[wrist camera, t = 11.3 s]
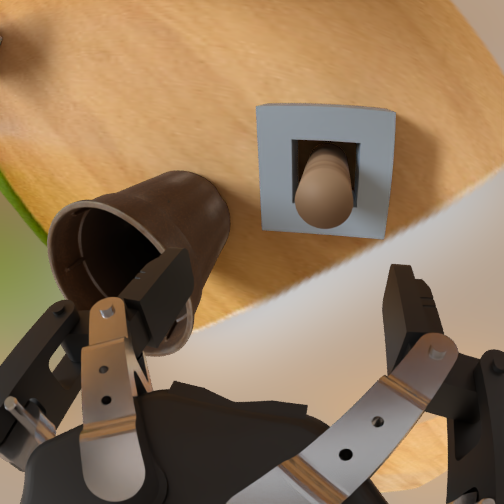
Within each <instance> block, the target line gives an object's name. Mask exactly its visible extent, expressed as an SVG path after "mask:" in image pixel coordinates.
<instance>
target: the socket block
mask: <svg viewBox="0 0 504 504" xmlns="http://www.w3.org/2000/svg"><path fill="white" fill-rule="evenodd" d="M256 119H257V138H258V158H259V178H260V199H261V221H262V230H268V231H283V232H297V233H311V234H324V235H337V236H349V237H361V238H373V239H384V236H385V229H386V222H387V215H388V207H389V199H390V190H391V181H392V170H393V158H394V143H395V122H396V112H393V111H391V110H388V109H385V108H375V107H364V106H352V105H336V104H310V103H268V104H263V105H259V106H256ZM298 140H322V141H340V142H354V143H356V166H355V184H354V190H352V195H353V209H352V212H351V214H350V216H349V217H348V219H347V220H346V221H345V222H344V223H342V224H341V225H339V226H337V227H334V228H331V229H320V228H316V227H313V226H311V225H309V224H307V223H306V222H305V221H304V220H303V219H302V218H301V217H300V216H299V214H298V212H297V210H296V206H295V195H296V191H297V189H298Z"/></svg>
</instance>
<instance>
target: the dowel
mask: <svg viewBox="0 0 504 504" xmlns="http://www.w3.org/2000/svg"><path fill="white" fill-rule="evenodd" d="M295 206H296V210H297V212H298V214H299V216H300V217H301V218H302V219H303V220H304V221H305V222H306V223H307V224H309V225H311V226H313V227H316V228H320V229H331V228H334V227H337V226H339V225H341V224H342V223H344V222H345V221H346V220H347V219H348V217H349V216H350V214H351V212H352V209H353V195H352V188H351V181H350V174H349V168H348V162H347V157H346V154H345V152H344V151H343V149H342V148H341V147H339V146H338V145H336V144H333V143H322V144H319V145H317V146H316V147H315V148H314V149H313V150H312V151H311V153H310V156H309V159H308V162H307V164H306V167H305V170H304V172H303V175H302V178H301V181H300V183H299V186H298V189H297V191H296V195H295Z"/></svg>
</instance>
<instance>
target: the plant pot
mask: <svg viewBox="0 0 504 504" xmlns="http://www.w3.org/2000/svg"><path fill="white" fill-rule="evenodd" d="M229 231H230V215H229V210H228V207H227V205H226V203H225V202H224V201H223V199H222V198H221V196H220V195H219V193H218V191H217V189H216V187H215V186H214V185H213V184H211V183H210V182H209V181H208V180H206V179H205V178H203V177H201V176H199V175H197V174H194V173H191V172H187V171H170V172H166V173H163V174H161V175H159V176H157V177H154V178H152V179H149V180H147V181H144V182H142V183H139V184H137V185H134V186H132V187H129V188H127V189H125V190H122V191H120V192H117V193H111V194H106V195H102V196H100V197H97V198H95V199H93V200H81V201H77V202H74V203H72V204H69V205H67V206H66V207H64V208H63V209H61V210H60V211H59V212H58V213H57V215H56V216H55V217H54V219H53V221H52V223H51V226H50V229H49V233H48V241H47V245H48V257H49V262H50V266H51V270H52V273H53V275H54V278H55V281H56V283H57V285H58V287H59V289H60V291H61V293H62V294H63V296H64V298H65V299H66V300H71V301H72V302H73V303H74V305H75V307H76V309H77V311H82V310H91V308H92V307H93V306H94V305H95V304H96V303H97V302H98V301H100V300H102V299H105V298H109V297H118V296H119V294H120V293H121V292H122V291H123V290H124V289H125V288H126V287H127V285H128V284H129V283H130V282H131V281H132V280H133V279H135V276H136V275H137V274H138V273H140V271H141V270H142V269H143V268H144V267H145V265H146V264H147V263H149V262H151V261H152V260H154V259H156V258H159V257H160V255H161V254H162V253H163V252H164V251H165V250H166V249H167V248H168V247H175V248H186V249H187V250H188V252H189V257H190V262H191V267H192V272H193V277H194V289H193V292H192V294H191V296H190V297H189V299H188V301H187V302H186V304H185V305H184V307H183V308H182V310H181V312H180V313H179V315H178V316H177V318H176V319H175V321H174V323H173V324H172V326H171V327H170V329H169V331H168V332H167V334H166V335H165V337H164V339H163V340H162V342H161V343H160V345H159V347H158V348H153V347H149V346H146V347H145V348H144V350H143V351H144V353H145V356H154V357H155V356H159V357H160V356H166V355H170V354H172V353H175V352H176V351H178V350H179V349H181V348H182V347H183V346H184V345H185V344H186V342H187V341H188V339H189V337H190V335H191V332H192V329H193V324H194V314H195V312H196V310H197V307H198V305H199V303H200V299H201V295H202V289H203V287H204V285H205V283H206V281H207V279H208V277H209V275H210V272H211V270H212V268H213V266H214V264H215V262H216V260H217V258H218V256H219V254H220V252H221V250H222V248H223V246H224V245H225V243H226V241H227V238H228V235H229Z"/></svg>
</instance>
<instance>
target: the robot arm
mask: <svg viewBox="0 0 504 504" xmlns="http://www.w3.org/2000/svg"><path fill="white" fill-rule="evenodd" d="M193 289H194V277H193V272H192V267H191V262H190V257H189V252H188V250H187V249H186V248H175V247H168V248H167V249H166V250H165V251H164V252H163V253H162V254H161V255H160V257H159V258H156V259H154V260H152V261H151V262H149V263H147V264H146V265H145V267H144V268H143V269H142V270H141V271H140V273H138V274H137V275H136V276H135V279H133V280H132V281H131V282H130V283H129V284H128V285H127V287H126V288H125V289H124V290H123V291H122V292H121V293H120V294H119V296H118V297H109V298H105V299H102V300H100V301H98V302H97V303H96V304H95V305H94V306H93V307H92V308H91V310H82V311H77V309H76V307H75V305H74V303H73V302H72V301H71V300H61V301H58V302H56V303H54V304H53V305H51V306H50V307H49V308H48V309H47V310H46V312H45V313H44V314H43V315H42V316H41V317H40V318H39V319H38V321H37V322H36V323H35V324H34V325H33V326H32V328H31V329H30V330H29V331H28V332H27V333H26V335H25V336H24V337H23V338H22V339H21V341H20V342H19V343H18V344H17V346H16V347H15V348H14V349H13V350H12V352H11V353H10V354H9V355H8V357H7V358H6V359H5V361H4V362H3V363H2V364H1V366H0V457H1V458H2V459H3V460H5V461H7V462H9V463H10V464H11V465H13V466H14V467H16V468H17V469H18V470H20V471H22V472H25V482H24V489H23V494H22V498H21V502H20V504H388V503H387V501H386V500H385V499H384V497H383V496H382V495H381V493H380V492H379V490H378V489H377V488H376V486H375V485H374V483H373V482H372V481H371V479H370V478H371V477H372V476H373V475H374V473H375V472H376V471H377V470H378V469H379V468H380V467H381V466H382V465H383V464H384V462H385V461H386V460H387V459H388V458H389V457H390V455H391V454H392V453H393V452H394V451H395V449H396V448H397V447H398V446H399V444H400V443H401V442H402V441H403V440H404V438H405V437H406V436H407V434H408V433H409V432H410V431H411V429H412V428H413V427H414V425H415V424H416V423H417V421H418V420H419V419H420V417H421V416H422V414H423V413H424V412H425V411H426V412H429V413H432V414H436V415H439V416H443V417H446V418H447V433H448V482H447V498H446V504H504V352H502V351H500V350H488V351H486V352H485V353H484V354H483V355H482V357H481V359H477V358H474V357H470V356H467V355H464V354H461V353H459V352H458V348H457V346H456V344H455V343H454V341H452V339H450V338H449V337H448V336H446V335H444V332H443V328H442V325H441V321H440V318H439V315H438V311H437V308H436V305H435V302H434V300H433V295H432V292H431V289H430V288H429V286H428V285H427V284H426V283H425V282H424V281H423V280H422V279H415V277H414V274H413V271H412V268H411V266H410V265H400V264H391V266H390V270H389V275H388V280H387V285H386V289H385V293H384V298H383V308H382V312H383V323H384V332H385V343H386V357H387V373H388V377H387V376H386V375H384V376H382V377H381V378H380V379H379V380H378V381H377V382H376V383H375V384H374V385H373V386H372V387H371V388H370V389H369V390H368V391H367V392H366V393H365V394H364V395H363V396H362V397H361V398H360V399H359V401H357V402H356V403H355V404H354V405H353V406H352V407H351V408H350V409H349V410H348V411H347V412H346V413H345V414H344V415H343V416H342V417H341V418H340V419H339V420H337V421H336V422H335V423H334V424H333V425H332V426H331V427H329V426H328V425H327V424H325V423H323V422H322V421H321V420H318V419H316V418H314V417H312V416H309V415H306V413H307V407H308V406H307V405H303V404H293V403H286V402H279V401H257V402H233V401H230V400H228V399H226V398H224V397H222V396H220V395H218V394H215V393H213V392H211V391H209V390H207V389H205V388H202V387H197V386H194V385H189V384H185V383H181V382H177V381H174V382H173V384H172V385H171V387H170V389H166V390H157V391H153V388H152V383H151V379H150V375H149V370H148V366H147V361H146V356H145V353H144V351H143V350H144V348H145V347H146V346H149V347H153V348H158V347H159V345H160V343H161V342H162V340H163V339H164V337H165V335H166V334H167V332H168V331H169V329H170V327H171V326H172V324H173V323H174V321H175V319H176V318H177V316H178V315H179V313H180V312H181V310H182V308H183V307H184V305H185V304H186V302H187V301H188V299H189V297H190V296H191V294H192V292H193ZM60 344H61V346H62V347H63V349H64V351H65V352H66V354H65V356H64V357H63V358H62V360H61V361H60V363H59V364H58V365H57V367H56V368H55V370H54V371H53V372H51V371H50V369H49V360H50V358H51V356H52V355H53V353H54V352H55V351H56V349H57V348H58V347H59V345H60ZM80 390H82V412H83V424H82V425H80V426H77V427H75V428H73V429H71V430H69V431H67V432H64V433H62V434H60V435H58V436H56V430H57V428H58V426H59V424H60V423H61V421H62V419H63V418H64V416H65V414H66V413H67V411H68V409H69V408H70V406H71V404H72V403H73V401H74V399H75V398H76V396H77V394H78V393H79V391H80ZM55 436H56V437H55Z"/></svg>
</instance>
